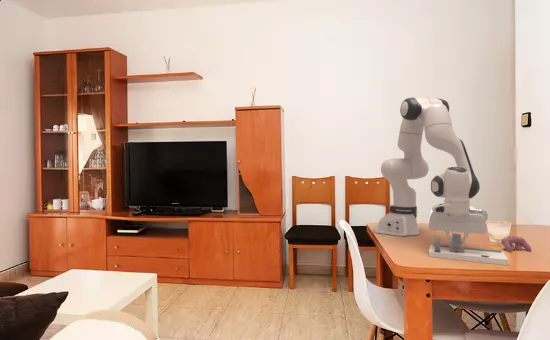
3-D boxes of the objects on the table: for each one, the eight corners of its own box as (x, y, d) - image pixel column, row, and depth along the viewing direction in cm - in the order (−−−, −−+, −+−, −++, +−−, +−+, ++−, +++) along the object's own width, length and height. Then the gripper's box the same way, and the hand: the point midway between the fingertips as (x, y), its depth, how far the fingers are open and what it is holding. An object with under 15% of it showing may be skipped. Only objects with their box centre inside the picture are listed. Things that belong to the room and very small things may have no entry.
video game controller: (525, 253, 143) (520, 236, 146) (533, 251, 139) (527, 234, 142) (502, 253, 143) (497, 237, 146) (510, 251, 138) (504, 234, 141)
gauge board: (428, 256, 134) (428, 236, 134) (430, 249, 144) (430, 230, 144) (508, 265, 122) (508, 243, 121) (503, 256, 132) (503, 236, 132)
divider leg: (449, 252, 132) (449, 236, 131) (449, 247, 138) (449, 232, 138) (464, 253, 129) (464, 237, 129) (463, 249, 136) (463, 233, 135)
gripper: (486, 208, 132) (486, 243, 132) (429, 205, 142) (429, 238, 142) (488, 210, 126) (488, 247, 127) (428, 207, 136) (428, 241, 136)
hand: (456, 242), depth 134 cm, fingers closed on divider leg, 3 cm apart
